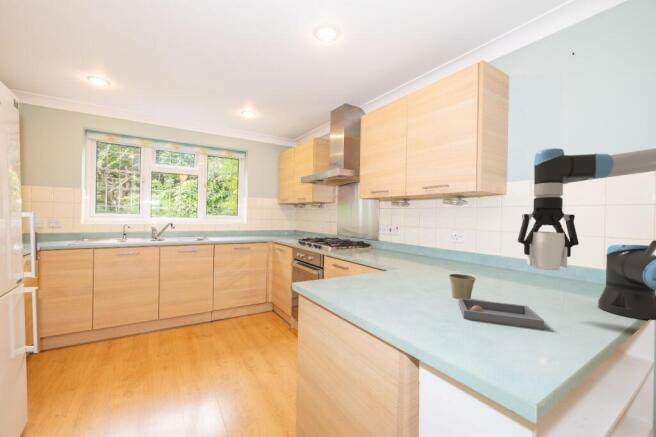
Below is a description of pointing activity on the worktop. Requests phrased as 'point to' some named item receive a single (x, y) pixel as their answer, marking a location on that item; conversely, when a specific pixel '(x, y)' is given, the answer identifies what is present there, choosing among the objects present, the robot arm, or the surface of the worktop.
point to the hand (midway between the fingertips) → (546, 265)
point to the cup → (547, 250)
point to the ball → (477, 308)
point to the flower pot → (461, 285)
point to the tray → (501, 313)
